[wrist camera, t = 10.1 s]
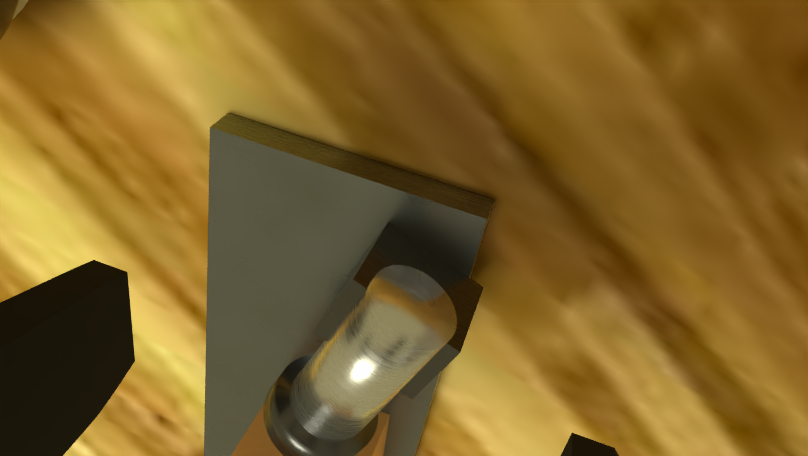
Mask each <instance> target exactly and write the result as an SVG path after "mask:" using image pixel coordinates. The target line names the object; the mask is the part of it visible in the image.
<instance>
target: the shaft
mask: <svg viewBox="0 0 808 456" xmlns="http://www.w3.org/2000/svg"><path fill="white" fill-rule="evenodd" d="M482 290H483V287H482V286H481V285H479V284H478V283H476V282H475V281H473V280H472V279H471V278H469V277H468V276H466V275H465V274H463V273H462V272H460V271H459V270H458V269H456V268H455V267H453V266H452V265H450V264H449V263H447V262H446V261H445V260H443V259H442V258H440V257H439V256H437V255H436V254H434V253H433V252H432V251H430V250H429V249H427V248H426V247H424V246H423V245H421V244H420V243H419V242H417V241H416V240H414V239H413V238H411V237H410V236H408V235H407V234H406V233H404V232H403V231H401V230H400V229H398V228H397V227H395V226H394V225H393V224H391V223H390V222H388V223H387V224H386V225H385V227H384V228H383V229H382V231H381V232H380V234H379V235H378V236H377V238H376V239H375V240H374V242H373V243H372V244H371V246H370V247H369V248H368V250H367V251H366V252H365V254H364V255H363V256H362V258H361V259H360V260H359V262H358V263H357V264H356V266H355V267H354V268H353V270H352V271H351V273H350V274H349V276H348V277H347V279H346V280H345V282H344V284H343V285H342V287H341V288H340V290H339V292H338V293H337V295H336V296H335V298H334V300H333V301H332V303H331V304H330V306H329V308H328V309H327V311H326V312H325V314H324V316H323V317H322V319H321V320H320V322H319V323H318V325H317V327H316V328H315V330H314V331H313V333H314V334H315V335H317V336H318V337H320V338H321V339H323V340H324V342H323V343H322V345H321V346H320V347H319V348H318V350H317V351H316V352H315V353H314V355H306V356H303V357H300V358H298V359H296V360H294V361H293V362H291V363H290V364H289V365H288V366H287V367H286V368H285V369H284V371H283V372H282V373H281V375H280V376H279V377H278V379H277V380H276V381H275V383H274V384H273V385H272V387H271V388H270V389H269V391H268V393H267V395H266V398H265V401H264V406H263V417H264V423H265V427H266V430H267V433H268V435H269V437H270V439H271V441H272V442H273V444H274V445H275V447H276V448H277V449H278V450H279V452H280V453H281V454H282V455H283V456H356V455H357V454H358V453H359V452H360V451H361V450H362V449H363V448H364V447H365V446H366V445H367V444H368V443H369V442H370V441H371V439H372V438H373V436H374V434H375V431H376V429H377V424H378V413H379V412H380V411H381V410H382V409H383V408H384V407H385V406H386V405H387V404H388V402H389V401H390V400H391V399H392V398H393V397H394V396H395V395H396V394H397V393H398V392H399V391H400V392H401V393H403V394H404V395H406V396H407V397H409V398H410V399H413V398H414V397H415V396H416V395H417V394H418V393H419V392H420V391H421V390H422V389H424V388H425V387H426V386H427V385H428V384H429V383H430V382H431V381H432V380H433V379H434V378H435V377H436V376H437V375H438V374H439V373H440V372H441V371H442V370H443V369H444V368H445V367H446V366H447V365H448V364H449V363H450V362H451V361H452V360H453V359H454V358H455V357H456V356H457V355H458V354H459V353H460V351H461V349H462V346H463V343H464V340H465V337H466V335H467V332H468V329H469V326H470V323H471V321H472V318H473V315H474V312H475V310H476V307H477V304H478V301H479V298H480V296H481V293H482Z"/></svg>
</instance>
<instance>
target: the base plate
mask: <svg viewBox="0 0 808 456" xmlns="http://www.w3.org/2000/svg"><path fill="white" fill-rule="evenodd" d="M494 201H495V200H493V199H490V198H487V197H484V196H481V195H478V194H475V193H472V192H469V191H466V190H462V189H459V188H456V187H453V186H450V185H447V184H444V183H441V182H438V181H435V180H432V179H429V178H426V177H423V176H420V175H417V174H414V173H411V172H407V171H404V170H401V169H398V168H395V167H392V166H389V165H386V164H383V163H380V162H377V161H374V160H371V159H368V158H365V157H362V156H359V155H356V154H352V153H349V152H346V151H343V150H340V149H337V148H334V147H331V146H328V145H325V144H322V143H319V142H316V141H313V140H310V139H307V138H304V137H301V136H297V135H294V134H291V133H288V132H285V131H282V130H279V129H276V128H273V127H270V126H267V125H264V124H261V123H258V122H255V121H252V120H249V119H246V118H242V117H239V116H236V115H233V114H230V113H227V114H226V115H225V116H224V117H222V118H221V119H220V120H219V121H217V122H216V123H215V124H214V125H212V126H211V127H210V163H209V217H208V271H207V326H206V380H205V435H204V456H231V455H232V453H233V452H234V450H235V448H236V447H237V445H238V444H239V442H240V441H241V439H242V437H243V436H244V434H245V433H246V431H247V429H248V428H249V426H250V425H251V423H252V422H253V420H254V418H255V417H256V415H257V414H258V412H259V411H260V409H261V407H262V406H263V404H264V401H265V398H266V395H267V393H268V391H269V389H270V388H271V387H272V385H273V384H274V383H275V381H276V380H277V379H278V377H279V376H280V375H281V373H282V372H283V371H284V369H285V368H286V367H287V366H288V365H289V364H290V363H291V362H293V361H294V360H296V359H298V358H300V357H303V356H306V355H314V353H315V352H316V351H317V350H318V348H319V347H320V346H321V345H322V343H323V342H324V340H323V339H321V338H320V337H318V336H317V335H315V334H314V333H313V331H314V330H315V328H316V327H317V325H318V323H319V322H320V320H321V319H322V317H323V316H324V314H325V312H326V311H327V309H328V308H329V306H330V304H331V303H332V301H333V300H334V298H335V296H336V295H337V293H338V292H339V290H340V288H341V287H342V285H343V284H344V282H345V280H346V279H347V277H348V276H349V274H350V273H351V271H352V270H353V268H354V267H355V266H356V264H357V263H358V262H359V260H360V259H361V258H362V256H363V255H364V254H365V252H366V251H367V250H368V248H369V247H370V246H371V244H372V243H373V242H374V240H375V239H376V238H377V236H378V235H379V234H380V232H381V231H382V229H383V228H384V227H385V225H386V224H387V223H388V222H390V223H391V224H393V225H394V226H395V227H397V228H398V229H400V230H401V231H403V232H404V233H406V234H407V235H408V236H410V237H411V238H413V239H414V240H416V241H417V242H419V243H420V244H421V245H423V246H424V247H426V248H427V249H429V250H430V251H432V252H433V253H434V254H436V255H437V256H439V257H440V258H442V259H443V260H445V261H446V262H447V263H449V264H450V265H452V266H453V267H455V268H456V269H458V270H459V271H460V272H462V273H463V274H465V275H466V276H468V277H469V278H471V275H472V272H473V269H474V266H475V262H476V259H477V256H478V253H479V249H480V246H481V243H482V240H483V237H484V233H485V230H486V227H487V224H488V220H489V217H490V214H491V211H492V208H493V204H494ZM441 372H442V371H441ZM441 372H440V373H439V374H438V375H437V376H436V377H435V378H434V379H433V380H432V381H431V382H430V383H429V384H428V385H427V386H426V387H425V388H424V389H422V390H421V391H420V392H419V393H418V394H417V395H416V396H415V397H414V398H413V399H410V398H409V397H407V396H406V395H404V394H403V393H401V392H400V391H399V392H398V393H397V394H396V395H395V396H394V397H393V398H392V399H391V400H390V401H389V402H388V404H387V405H386V406H385V407H384V408H383V409H382V410H381V411H380V412H383V413H386V414H389V415H390V417H389V423H388V429H387V435H386V441H385V447H384V454H383V456H416V452H417V449H418V446H419V443H420V439H421V436H422V433H423V430H424V427H425V423H426V420H427V417H428V414H429V410H430V407H431V404H432V401H433V398H434V394H435V391H436V388H437V385H438V381H439V378H440V375H441Z"/></svg>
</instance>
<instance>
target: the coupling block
mask: <svg viewBox="0 0 808 456" xmlns="http://www.w3.org/2000/svg"><path fill="white" fill-rule="evenodd" d="M263 406H264V404H263ZM263 406H262V407H261V409H260V411H259V412H258V414H257V415H256V417H255V418H254V420H253V422H252V423H251V425H250V426H249V428H248V429H247V431H246V433H245V434H244V436H243V437H242V439H241V441H240V442H239V444H238V445H237V447H236V448H235V450H234V452H233V453H232V455H231V456H283V455H282V454H281V453H280V452H279V450H278V449H277V448H276V447H275V445H274V444H273V442H272V441H271V439H270V437H269V435H268V433H267V430H266V427H265V423H264V417H263ZM389 417H390V415H389V414H386V413H383V412H379V413H378V424H377V429H376V431H375V434H374V436H373V438H372V439H371V441H370V442H369V443H368V444H367V445H366V446H365V447H364V448H363V449H362V450H361V451H360V452H359V453H358V454H357V455H356V456H383V454H384V447H385V441H386V435H387V429H388V423H389Z"/></svg>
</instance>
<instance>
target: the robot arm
mask: <svg viewBox="0 0 808 456" xmlns="http://www.w3.org/2000/svg"><path fill="white" fill-rule="evenodd" d="M134 361H135V357H134V345H133V334H132V322H131V310H130V298H129V287H128V275H127V272H126V271H123V270H120V269H117V268H114V267H112V266H109V265H106V264H103V263H101V262H98V261H95V260H93V261H90V262H88V263H86V264H83V265H81V266H79V267H77V268H74V269H72V270H70V271H68V272H65V273H63V274H61V275H59V276H57V277H55V278H52V279H50V280H48V281H46V282H44V283H42V284H40V285H37V286H35V287H33V288H31V289H29V290H27V291H25V292H22V293H20V294H18V295H16V296H14V297H12V298H10V299H7V300H5V301H3V302H1V303H0V456H63V455H64V454H65V452H66V451H67V450H68V449H69V448H70V447H71V446H72V444H73V443H74V442H75V441H76V440H77V439H78V438H79V436H80V435H81V434H82V433H83V432H84V431H85V430H86V428H87V427H88V426H89V425H90V424H91V423H92V421H93V420H94V419H95V418H96V417H97V416H98V414H99V413H100V412H101V410H102V409H103V407H104V406H105V404H106V403H107V402H108V400H109V399H110V397H111V396H112V395H113V393H114V392H115V390H116V389H117V387H118V386H119V384H120V383H121V381H122V380H123V378H124V377H125V375H126V374H127V372H128V371H129V369H130V368H131V366H132V365H133V363H134ZM561 456H619V455H618V454H617V452H616V450H615V448H613V447H610V446H607V445H605V444H602V443H599V442H596V441H594V440H591V439H588V438H585V437H583V436H580V435H577V434H574V433H572V434H571V436H570V438H569V440H568V442H567V444H566V446H565V448H564V450H563V452H562V454H561Z"/></svg>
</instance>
